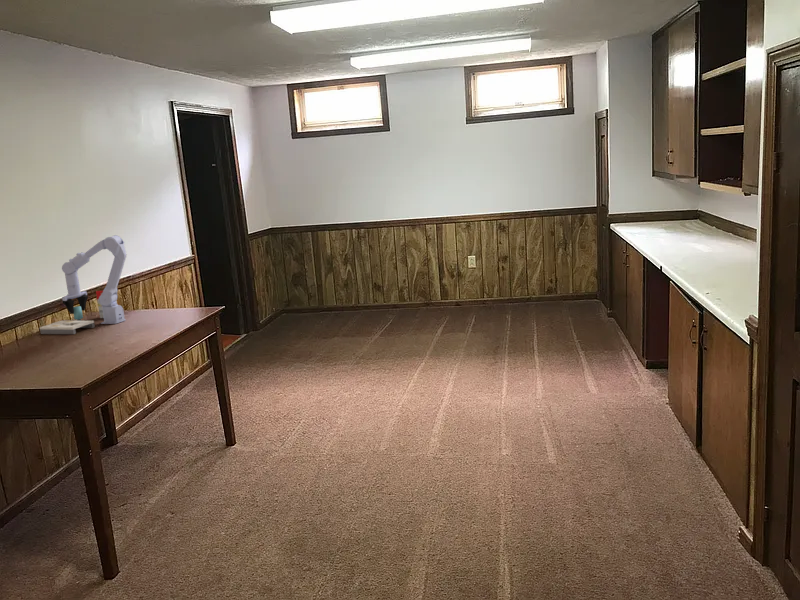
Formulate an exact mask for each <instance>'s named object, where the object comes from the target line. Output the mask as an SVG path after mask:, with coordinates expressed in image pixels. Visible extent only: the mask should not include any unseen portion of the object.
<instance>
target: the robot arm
mask: <svg viewBox="0 0 800 600" xmlns="http://www.w3.org/2000/svg"><path fill="white" fill-rule="evenodd" d="M102 250H108V251H109V252H110V253H111V254H112V255H113V256H114V258H113V262H112V264H111V267H110V268H111V269H110V271H109V275H108V279H107V281H106V285H105V287H104V289H103V290H102V291H103V293H101V295H100V297H99V302H100V304H102V310H103V316H104V318H103V321H102V322H100V324H101V325H103V324H104V325H109V324H110V325H116V324H119V323H122V322H125V321H126V320H127V319H125V318H126V317H125V312H124V308H123V305H120V304H118V301H117V302H116V300H118V286H119V282H120V280H121V276H122V272H123V269H124V265H125V262H126V258H127V251H126V247H125V241H124V240H123V238H122V237H121V236H120V235H116V234H115V235H112V236H108V237H105V238H104V239H101V240H100V241H99V242H97V243H96V244H94V245H93V246H92V247H90V249H88V250H87V251H86V252H77V253H76V256H74V257H73V258H70V259H68V261H67V262H64V263H63V264H62V266H61V270H62V272H63V273H64V276H65V282H66V284H65V285H66V289H67V295H64V296H62V297H61V299H62V303H63V304H64V306H65V308H66V309H67V311H68V313H69V315H74V307H75V306H74V305H75V300H73V299H76V300H77V301H78V304H79V305H78V306H81V309H82V311H86V305H87V301H88V298H89V297H88V292H87V291H81V286H80V281H79V274H78V270H79V269H81V268H82V267H83V266H85V265H86V264H88V263H89V262H90V259H91V257H93V256H94V255H96V254H98V253H99V252H101V251H102Z"/></svg>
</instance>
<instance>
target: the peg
mask: <svg viewBox="0 0 800 600" xmlns="http://www.w3.org/2000/svg"><path fill="white" fill-rule="evenodd" d="M73 318H74V321H82V319H84V317H83V310H82V309H81V306H80V305H78V306H74V314H73Z"/></svg>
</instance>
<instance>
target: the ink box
mask: <svg viewBox="0 0 800 600" xmlns="http://www.w3.org/2000/svg"><path fill="white" fill-rule="evenodd" d="M102 293H103V290H96V291H95V294H96V301H97V309H98V313H99V319H104V316H103V310H102V304H100V302H99V297H100V295H101V294H102ZM117 300H118V299H117ZM117 300H116V302H117V303H118V301H117Z"/></svg>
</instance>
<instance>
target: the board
mask: <svg viewBox="0 0 800 600" xmlns="http://www.w3.org/2000/svg"><path fill="white" fill-rule="evenodd" d="M81 328H82V329H85V328H86V329H88V328H89V329H91V328H92V329H93V328H95V320H81V321H77V320H58V321H55V322H52V323H49V324H47V325H46V324H45V325H42V326H39V331H40V334H41V335H75V334H77V331H76V329H81Z"/></svg>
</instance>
